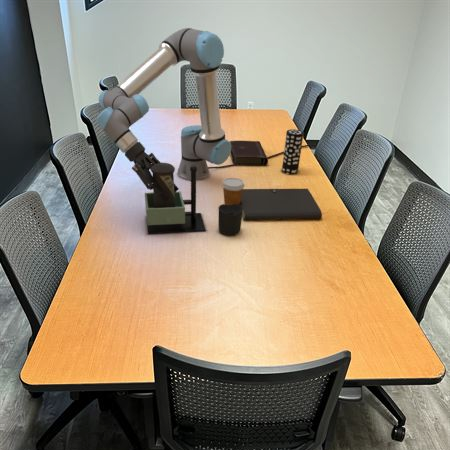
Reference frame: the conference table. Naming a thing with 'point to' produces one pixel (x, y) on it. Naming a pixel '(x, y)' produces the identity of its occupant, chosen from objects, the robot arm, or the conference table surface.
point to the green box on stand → (174, 213)
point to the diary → (248, 153)
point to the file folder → (279, 204)
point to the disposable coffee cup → (232, 190)
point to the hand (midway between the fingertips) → (171, 195)
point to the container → (164, 184)
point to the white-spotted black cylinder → (292, 151)
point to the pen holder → (230, 219)
